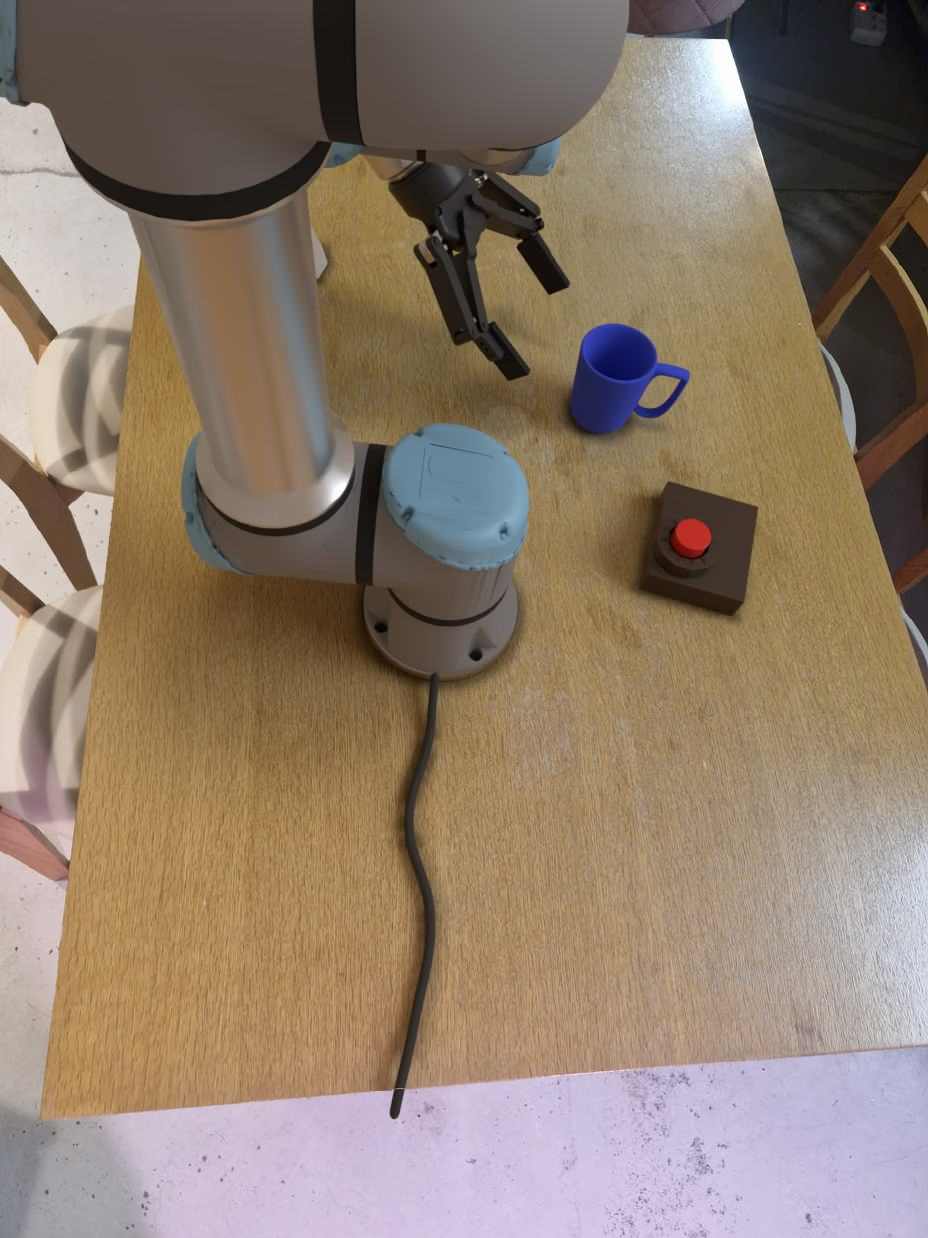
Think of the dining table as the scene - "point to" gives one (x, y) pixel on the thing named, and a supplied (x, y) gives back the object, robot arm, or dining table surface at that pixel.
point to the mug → (618, 378)
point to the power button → (690, 538)
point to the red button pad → (719, 567)
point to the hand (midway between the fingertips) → (540, 331)
